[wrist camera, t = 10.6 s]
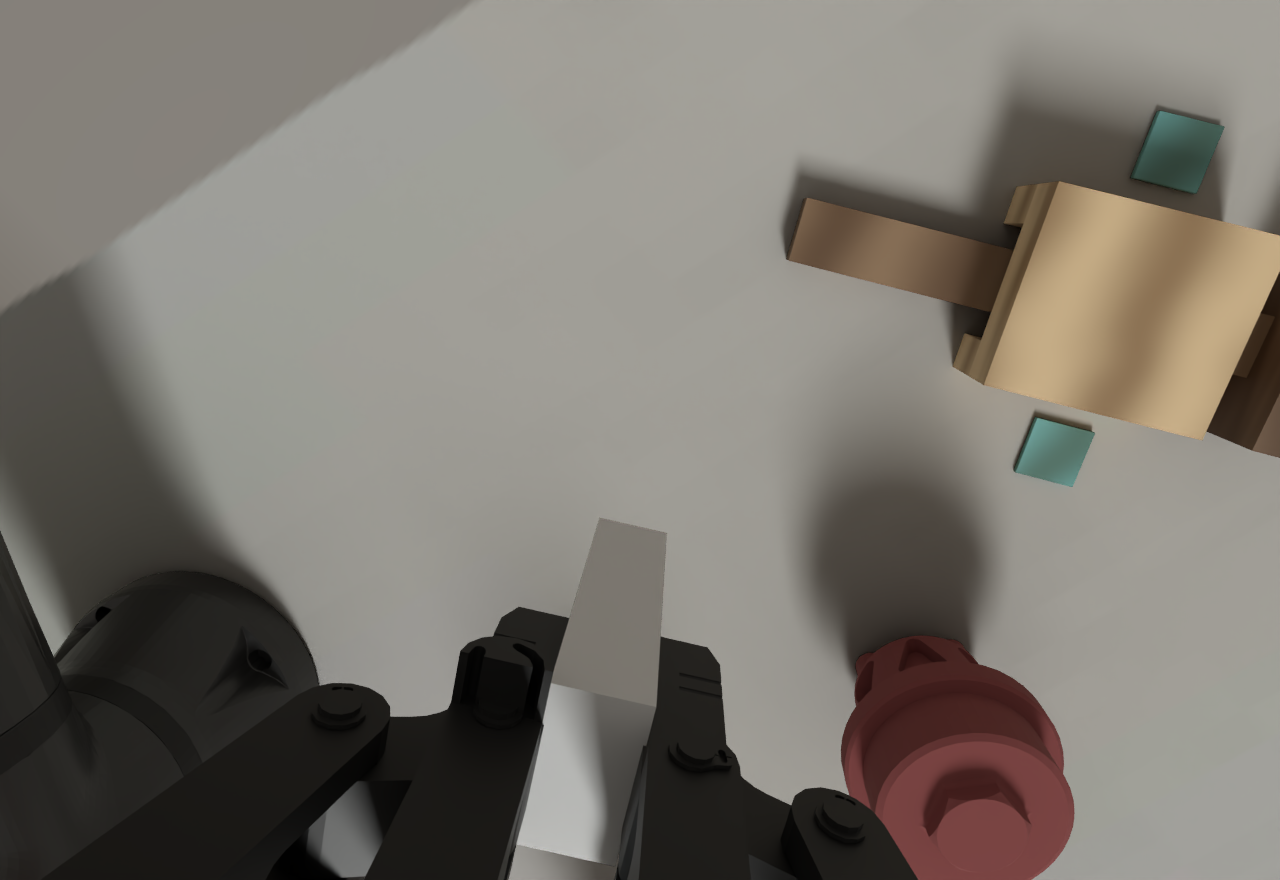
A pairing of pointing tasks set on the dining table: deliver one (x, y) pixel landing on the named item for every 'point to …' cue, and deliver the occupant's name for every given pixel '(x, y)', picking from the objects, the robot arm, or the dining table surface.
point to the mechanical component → (956, 763)
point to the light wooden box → (1122, 307)
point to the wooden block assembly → (973, 273)
